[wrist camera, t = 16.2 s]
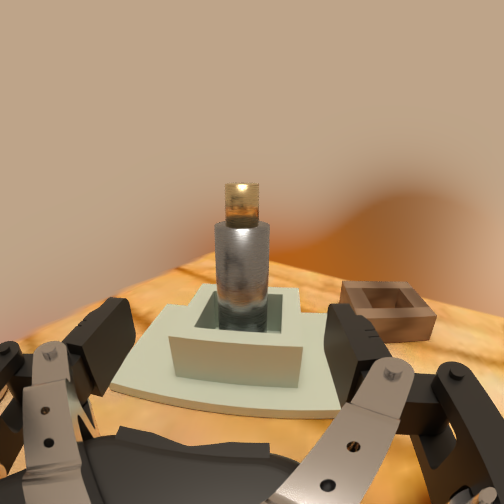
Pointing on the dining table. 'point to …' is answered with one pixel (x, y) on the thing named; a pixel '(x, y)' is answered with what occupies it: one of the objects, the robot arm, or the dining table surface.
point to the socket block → (390, 309)
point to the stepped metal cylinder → (242, 261)
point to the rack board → (234, 361)
